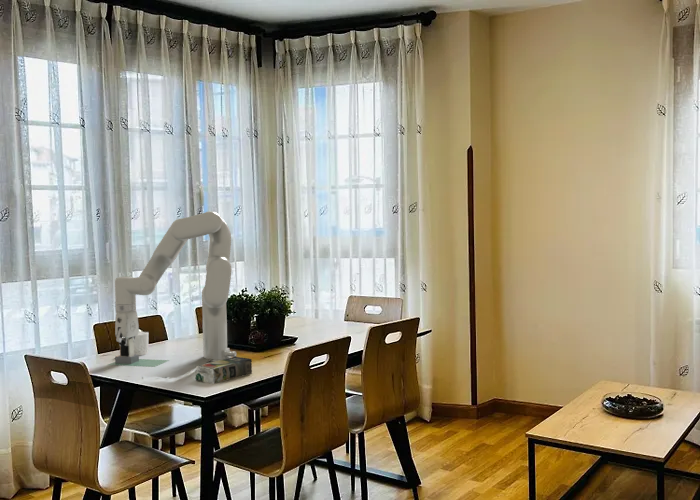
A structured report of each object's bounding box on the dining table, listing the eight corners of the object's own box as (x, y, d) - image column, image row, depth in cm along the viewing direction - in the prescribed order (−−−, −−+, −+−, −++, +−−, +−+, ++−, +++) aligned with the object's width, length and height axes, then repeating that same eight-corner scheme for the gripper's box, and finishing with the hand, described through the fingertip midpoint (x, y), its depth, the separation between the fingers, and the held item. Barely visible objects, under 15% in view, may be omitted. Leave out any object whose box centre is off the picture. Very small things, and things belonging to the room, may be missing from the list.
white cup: (143, 359, 286) (142, 335, 286) (125, 358, 288) (125, 334, 287) (152, 355, 294) (152, 332, 293) (135, 355, 295) (134, 331, 295)
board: (169, 364, 277) (169, 354, 276) (154, 370, 265) (154, 360, 265) (124, 362, 281) (123, 352, 281) (107, 368, 270) (107, 358, 269)
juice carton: (212, 385, 242) (211, 367, 242) (193, 381, 248) (192, 364, 248) (253, 374, 259) (252, 358, 258) (234, 371, 264) (233, 355, 264)
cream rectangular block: (133, 358, 275) (133, 338, 275) (129, 359, 272) (129, 339, 272) (124, 357, 276) (123, 337, 276) (120, 359, 273) (119, 339, 273)
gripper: (123, 311, 264) (124, 359, 265) (145, 305, 280) (146, 351, 281) (105, 310, 266) (106, 358, 267) (128, 305, 282) (129, 350, 283)
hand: (127, 354), depth 274 cm, fingers closed on cream rectangular block, 3 cm apart
